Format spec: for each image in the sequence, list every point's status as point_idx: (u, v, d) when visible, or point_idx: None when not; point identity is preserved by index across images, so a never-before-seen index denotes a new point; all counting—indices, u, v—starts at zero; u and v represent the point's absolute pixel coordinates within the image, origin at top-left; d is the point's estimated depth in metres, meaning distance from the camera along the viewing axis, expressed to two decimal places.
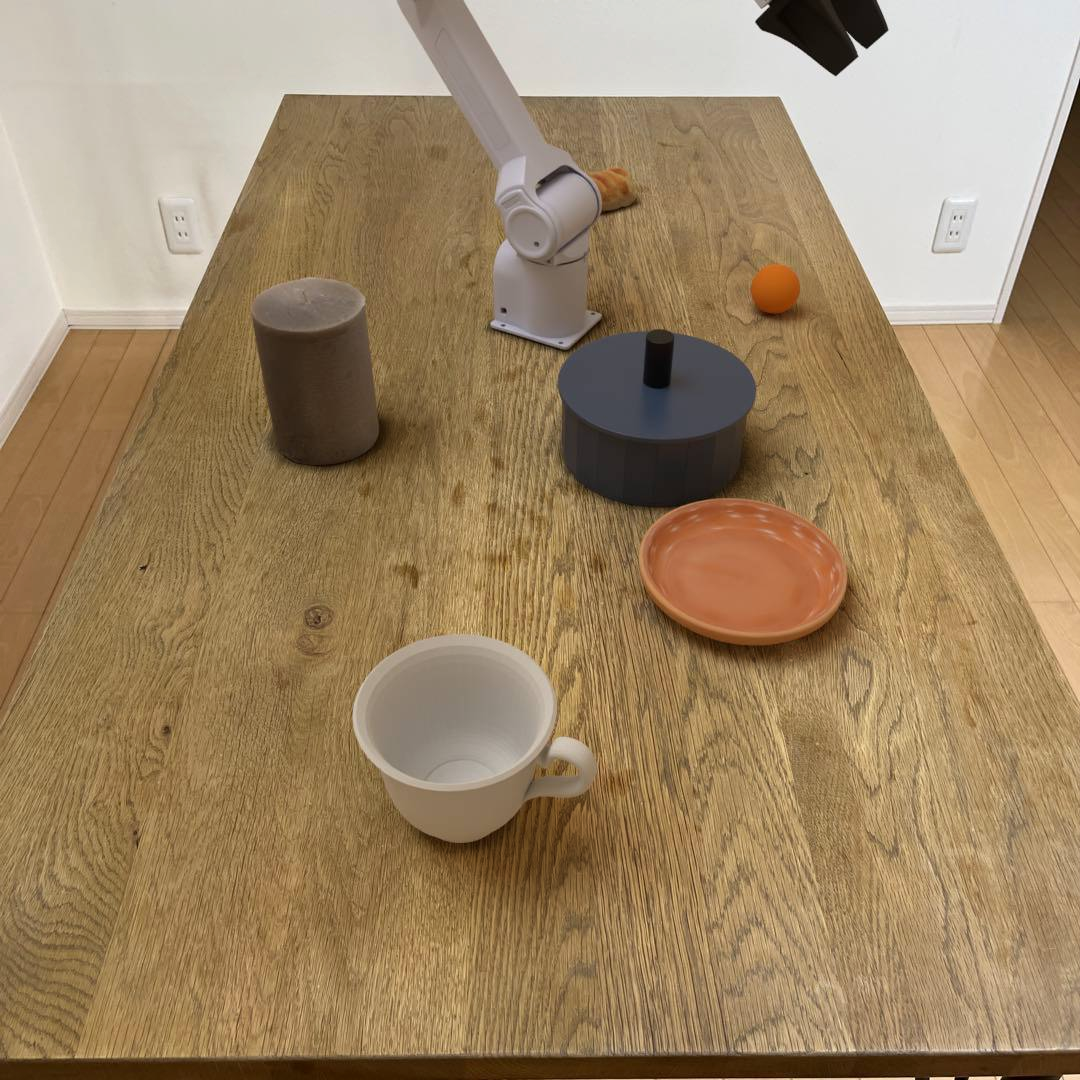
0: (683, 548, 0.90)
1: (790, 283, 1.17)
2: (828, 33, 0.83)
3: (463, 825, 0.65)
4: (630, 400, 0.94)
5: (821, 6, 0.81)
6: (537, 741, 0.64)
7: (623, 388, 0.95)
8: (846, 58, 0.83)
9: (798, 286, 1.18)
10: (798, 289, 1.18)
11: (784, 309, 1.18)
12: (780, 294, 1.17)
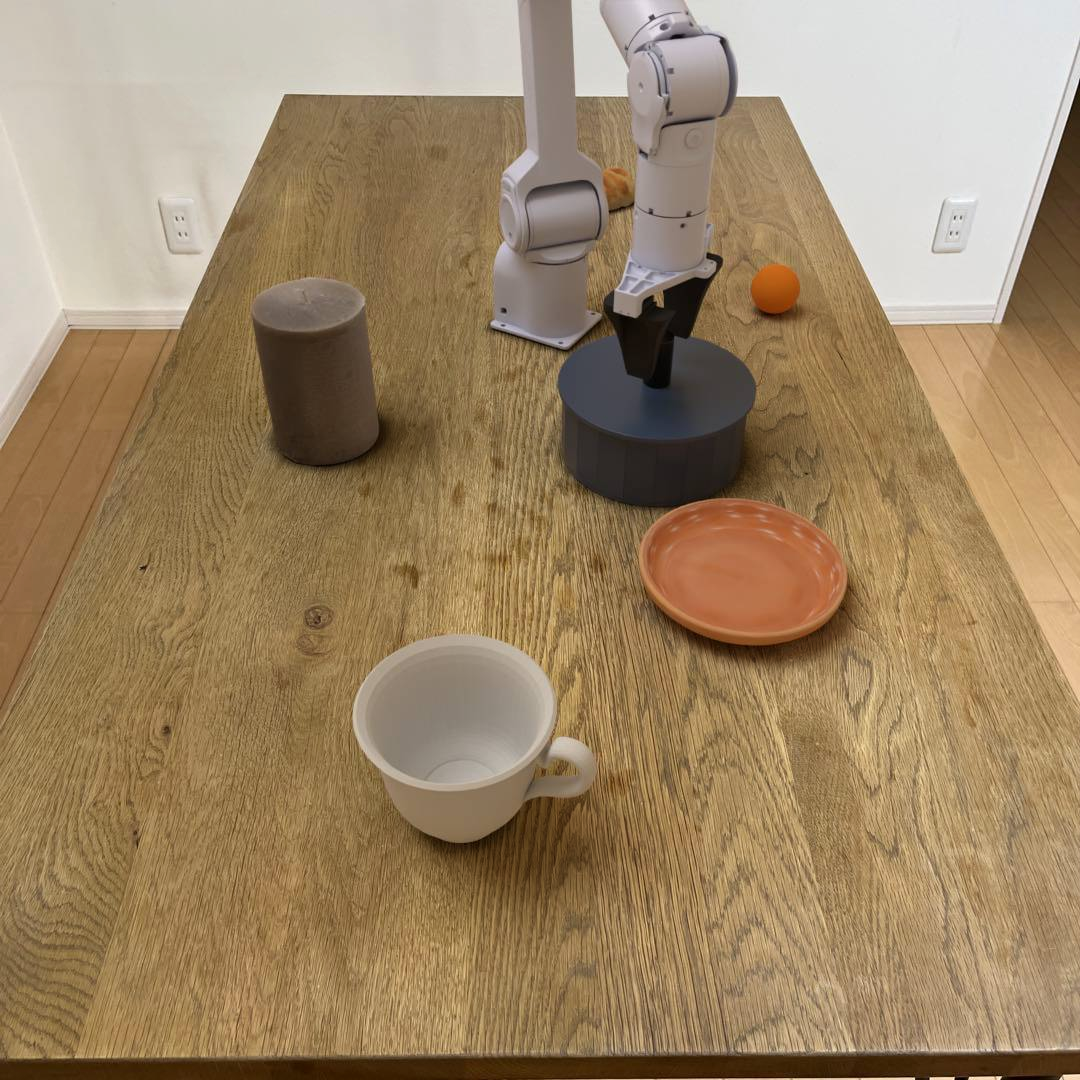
0: (683, 548, 0.90)
1: (790, 283, 1.17)
2: (644, 351, 0.90)
3: (463, 825, 0.65)
4: (630, 400, 0.94)
5: (654, 340, 0.88)
6: (537, 741, 0.64)
7: (623, 388, 0.95)
8: (642, 374, 0.91)
9: (798, 286, 1.18)
10: (798, 289, 1.18)
11: (784, 309, 1.18)
12: (780, 294, 1.17)
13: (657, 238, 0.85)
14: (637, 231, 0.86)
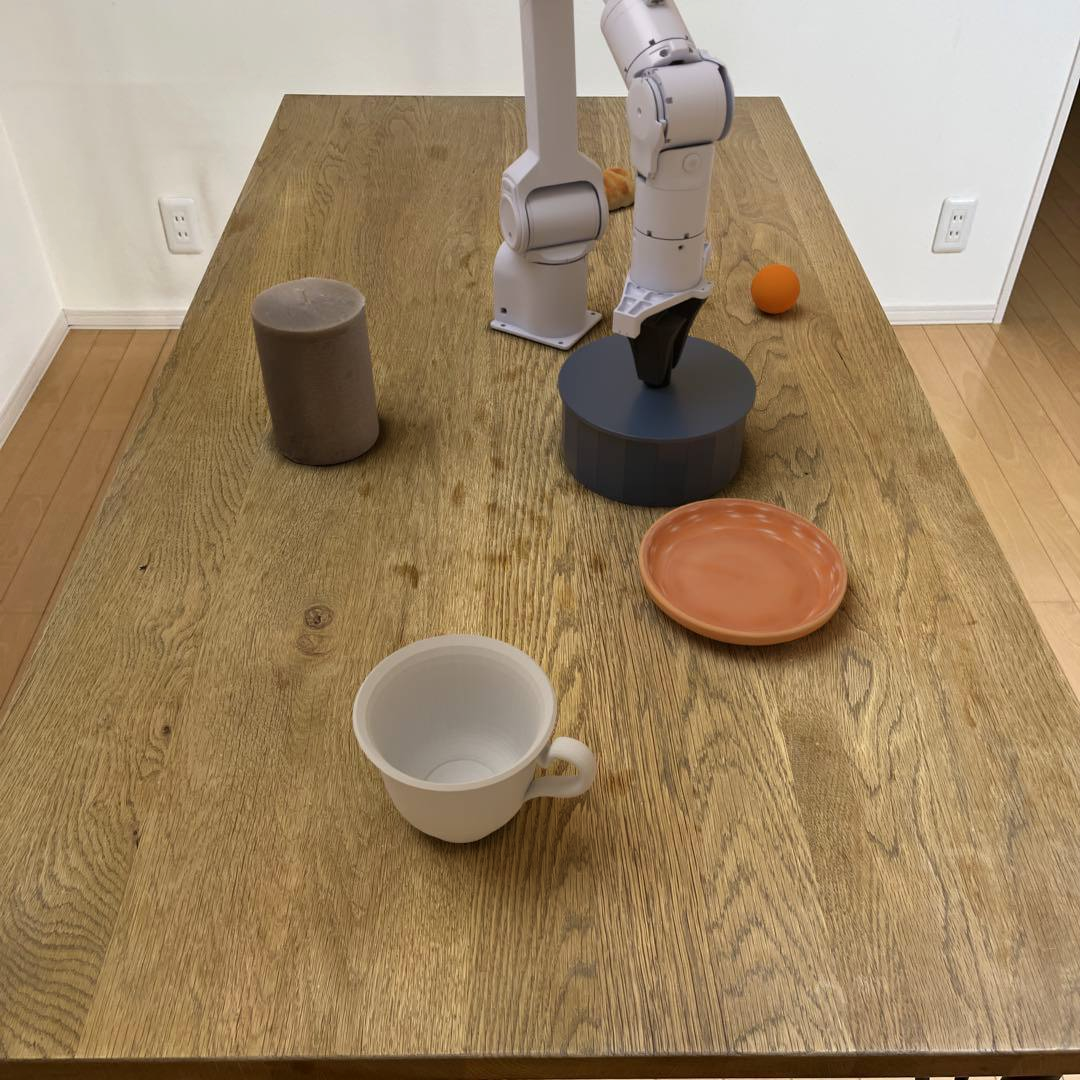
0: (683, 548, 0.90)
1: (790, 283, 1.17)
2: (656, 356, 0.92)
3: (463, 825, 0.65)
4: (630, 400, 0.94)
5: (665, 347, 0.90)
6: (537, 741, 0.64)
7: (623, 388, 0.95)
8: (653, 379, 0.94)
9: (798, 286, 1.18)
10: (798, 289, 1.18)
11: (784, 309, 1.18)
12: (780, 294, 1.17)
13: (655, 260, 0.86)
14: (636, 252, 0.87)
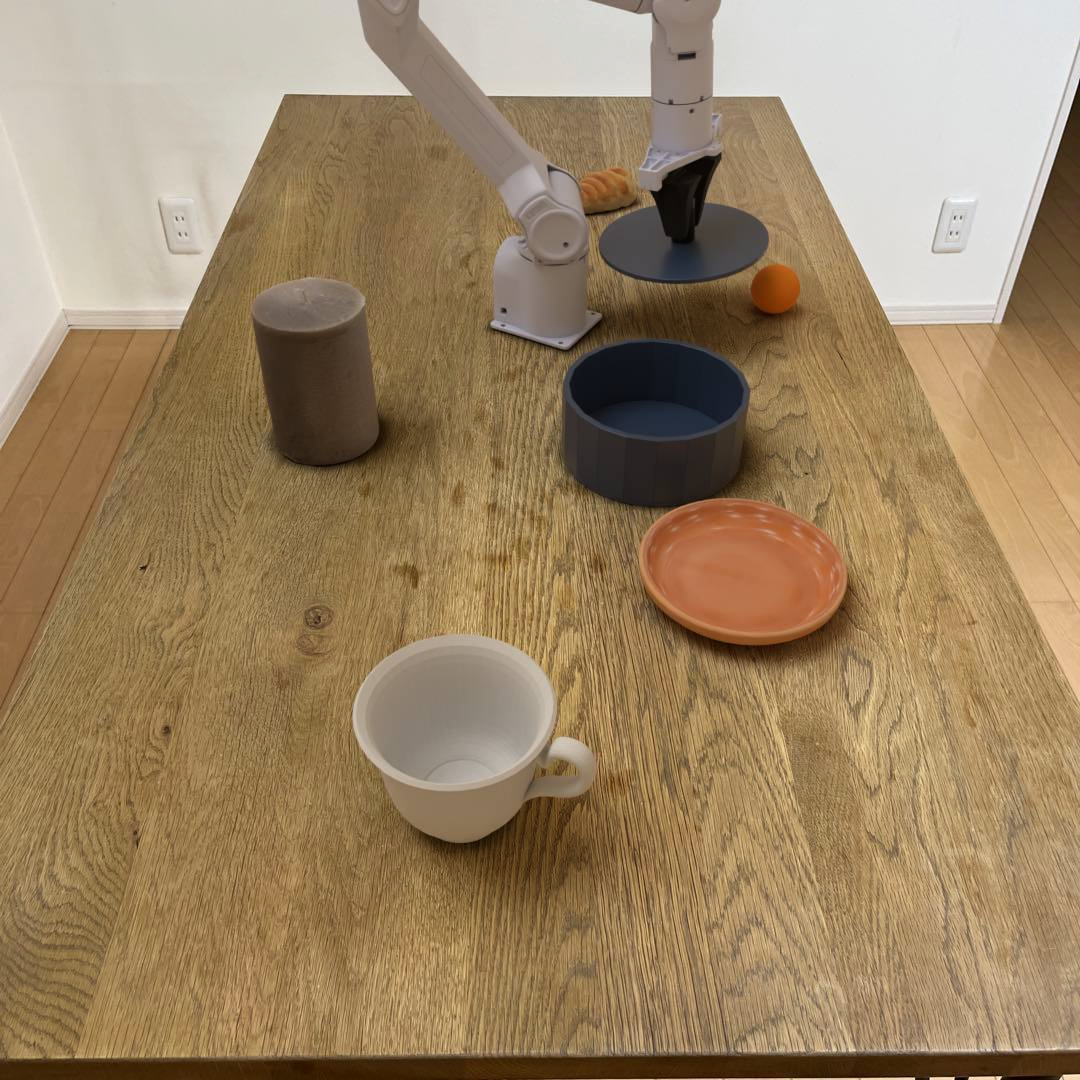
0: (683, 548, 0.90)
1: (790, 283, 1.17)
2: (678, 213, 1.09)
3: (463, 825, 0.65)
4: (660, 253, 1.11)
5: (685, 201, 1.07)
6: (537, 741, 0.64)
7: (654, 245, 1.12)
8: (678, 234, 1.10)
9: (798, 286, 1.18)
10: (798, 289, 1.18)
11: (784, 309, 1.18)
12: (780, 294, 1.17)
13: (671, 124, 1.02)
14: (655, 120, 1.04)
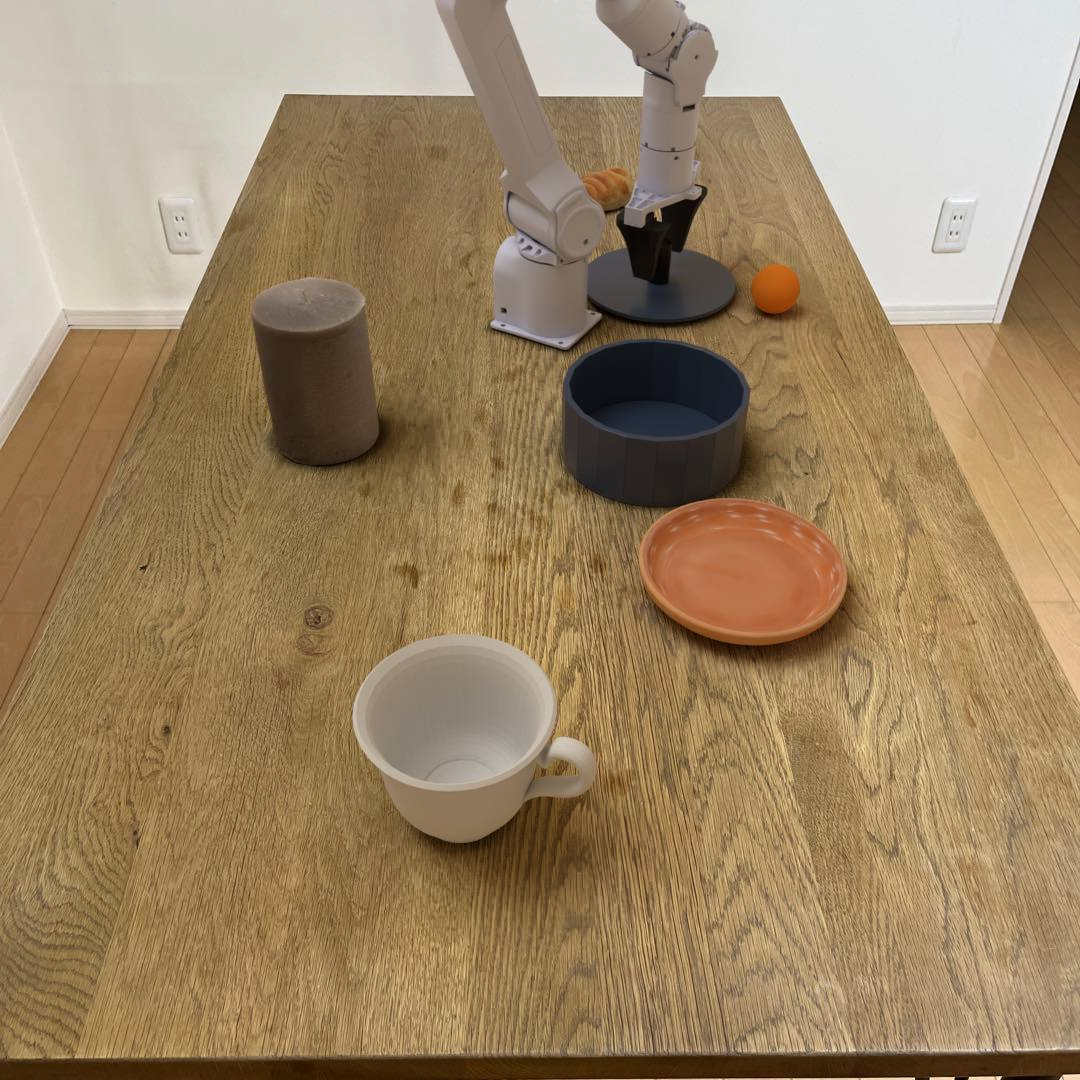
0: (683, 548, 0.90)
1: (790, 283, 1.17)
2: (647, 257, 1.18)
3: (463, 825, 0.65)
4: (638, 293, 1.21)
5: (654, 247, 1.15)
6: (537, 741, 0.64)
7: (632, 284, 1.23)
8: (645, 276, 1.19)
9: (798, 286, 1.18)
10: (798, 289, 1.18)
11: (784, 309, 1.18)
12: (780, 294, 1.17)
13: (657, 168, 1.13)
14: (642, 163, 1.14)
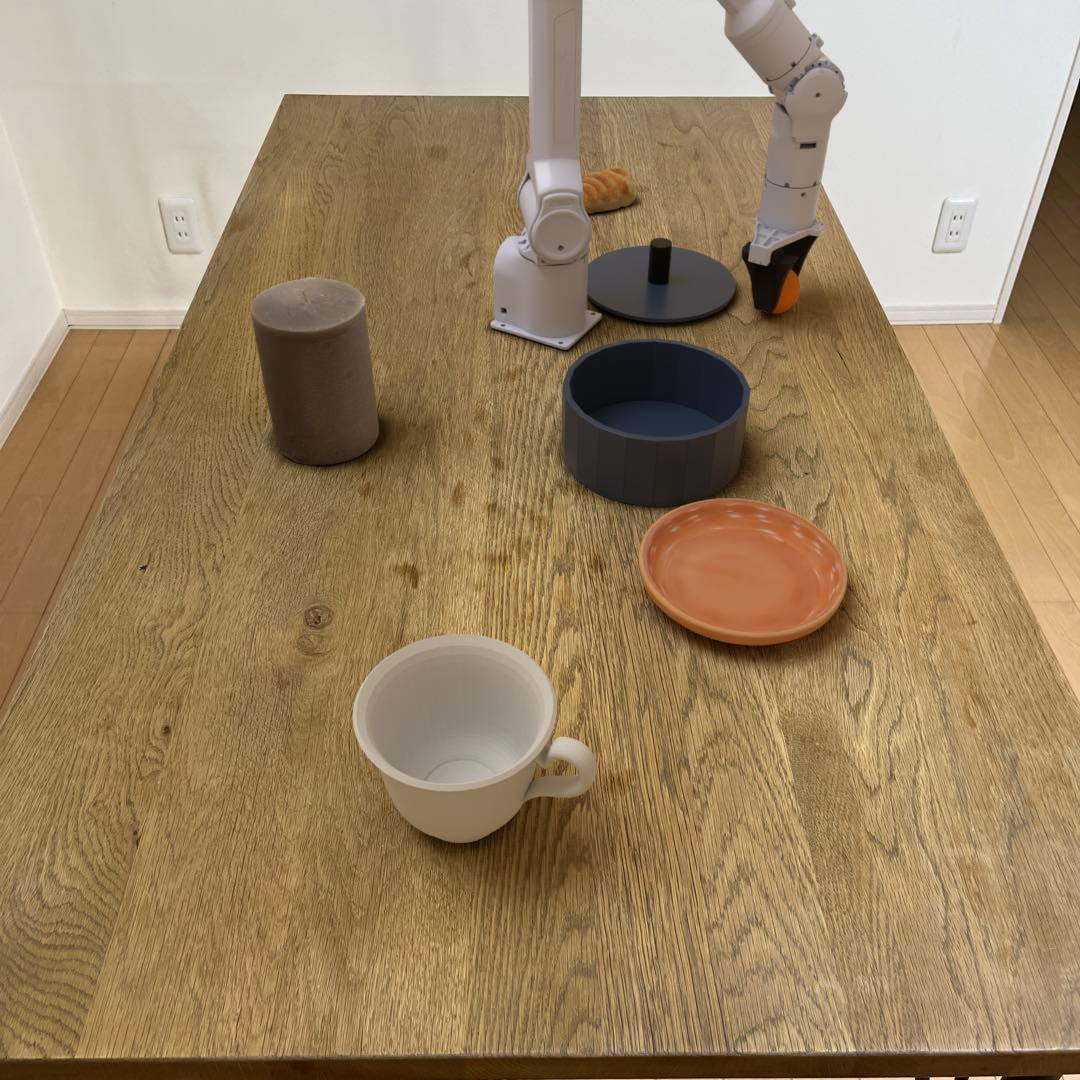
0: (683, 548, 0.90)
1: (790, 283, 1.17)
2: (771, 289, 1.16)
3: (463, 825, 0.65)
4: (638, 293, 1.21)
5: (781, 280, 1.14)
6: (537, 741, 0.64)
7: (632, 284, 1.23)
8: (767, 308, 1.17)
9: (798, 286, 1.18)
10: (798, 289, 1.18)
11: (784, 309, 1.18)
12: None
13: (782, 204, 1.10)
14: (766, 199, 1.11)
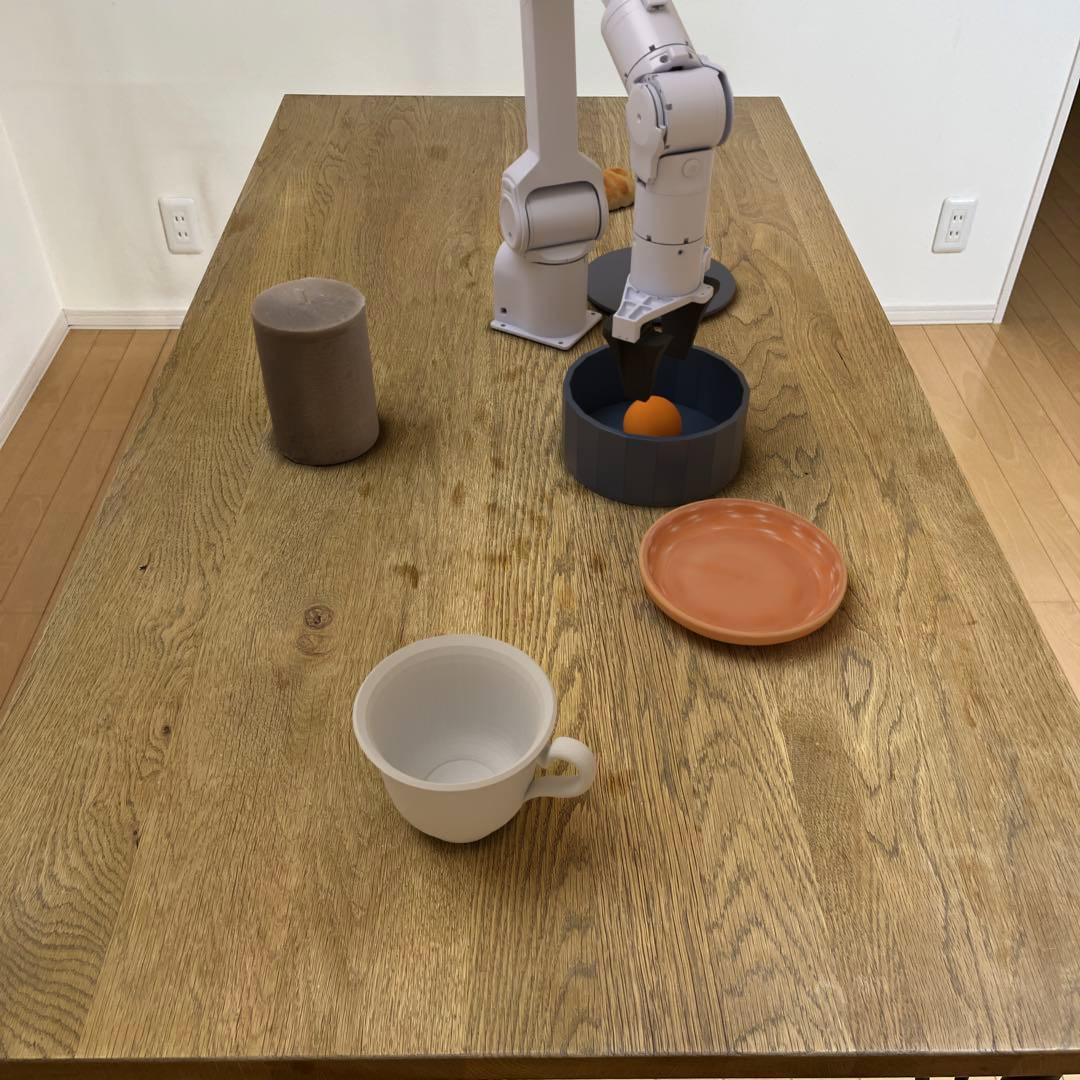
0: (683, 548, 0.90)
1: (666, 424, 0.97)
2: (643, 374, 0.91)
3: (463, 825, 0.65)
4: None
5: (652, 364, 0.89)
6: (537, 741, 0.64)
7: None
8: (640, 396, 0.93)
9: (678, 424, 0.97)
10: (678, 428, 0.98)
11: None
12: None
13: (655, 264, 0.86)
14: (636, 257, 0.87)
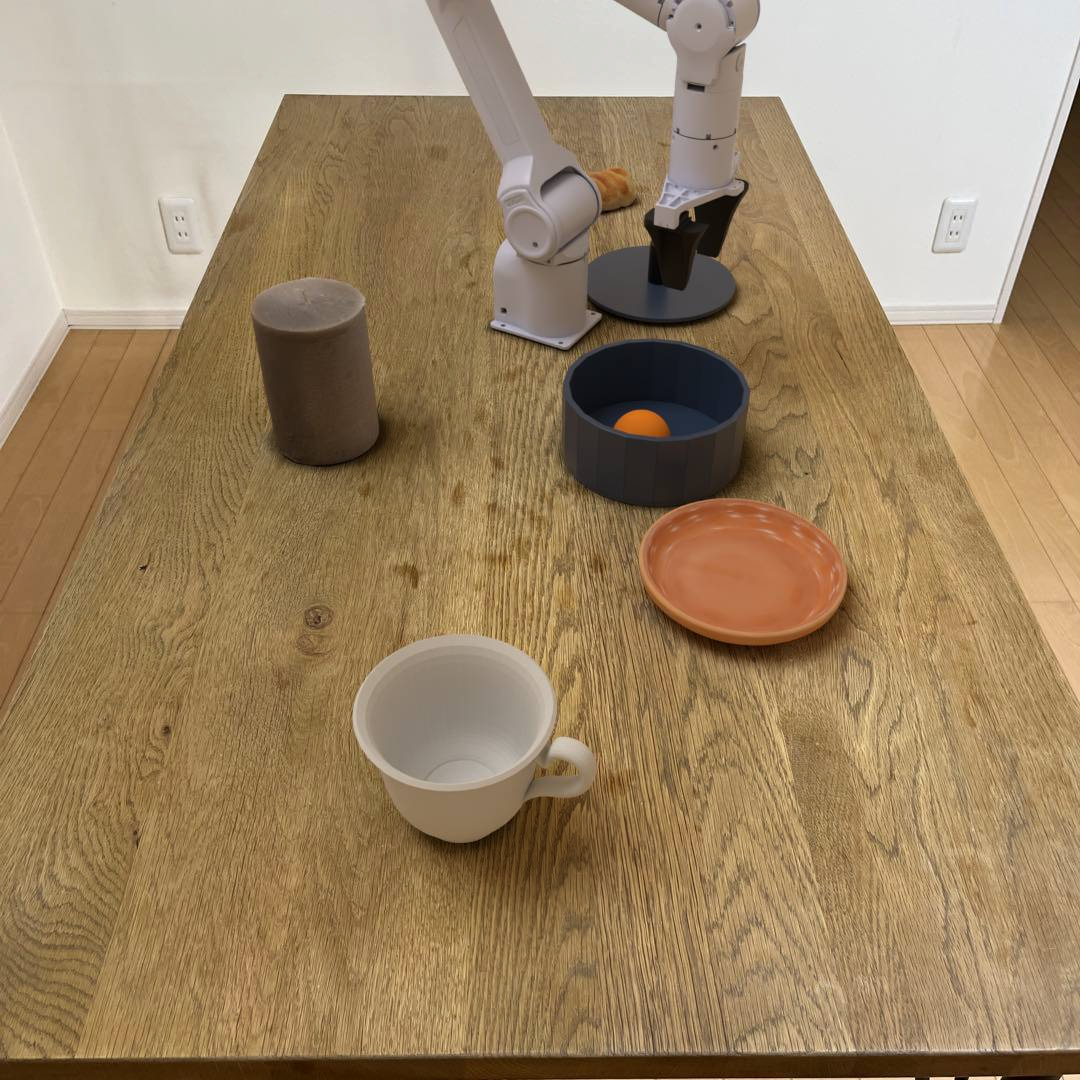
0: (683, 548, 0.90)
1: None
2: (680, 263, 1.01)
3: (463, 825, 0.65)
4: (638, 293, 1.21)
5: (689, 252, 0.99)
6: (537, 741, 0.64)
7: (632, 284, 1.23)
8: (678, 285, 1.02)
9: None
10: None
11: None
12: None
13: (692, 159, 0.96)
14: (674, 153, 0.97)
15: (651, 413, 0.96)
